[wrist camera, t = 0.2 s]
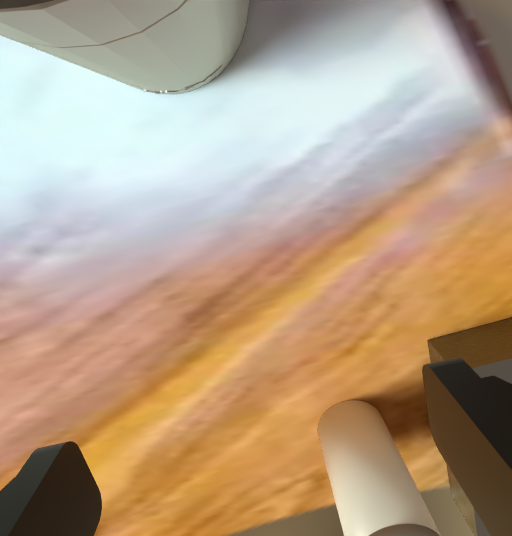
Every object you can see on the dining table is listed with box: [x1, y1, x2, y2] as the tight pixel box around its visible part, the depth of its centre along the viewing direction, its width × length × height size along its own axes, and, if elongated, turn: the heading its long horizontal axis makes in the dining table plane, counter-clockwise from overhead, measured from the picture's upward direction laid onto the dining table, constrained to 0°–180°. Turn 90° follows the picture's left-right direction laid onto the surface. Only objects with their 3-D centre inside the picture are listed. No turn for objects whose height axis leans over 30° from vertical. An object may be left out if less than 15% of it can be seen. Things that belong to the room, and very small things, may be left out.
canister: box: [317, 400, 441, 536], centre depth 26 cm, size 5×5×11 cm
